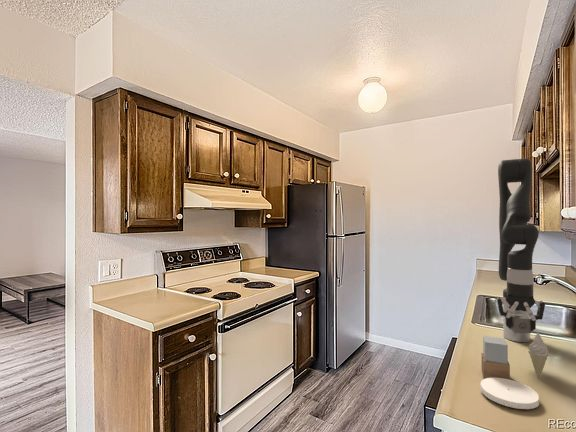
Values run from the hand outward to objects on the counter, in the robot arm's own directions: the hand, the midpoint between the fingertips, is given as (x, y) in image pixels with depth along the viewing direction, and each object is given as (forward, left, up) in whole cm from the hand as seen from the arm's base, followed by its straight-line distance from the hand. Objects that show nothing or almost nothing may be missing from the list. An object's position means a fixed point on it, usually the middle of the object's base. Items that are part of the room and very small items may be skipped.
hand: (520, 328), depth 114 cm
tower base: (+14, -9, -12) cm, 21 cm away
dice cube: (-1, 0, -1) cm, 2 cm away
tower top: (+14, -9, -6) cm, 18 cm away
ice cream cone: (+10, +3, -13) cm, 16 cm away
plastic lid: (+26, -7, -13) cm, 30 cm away
